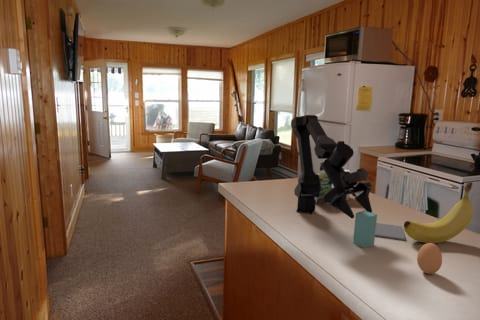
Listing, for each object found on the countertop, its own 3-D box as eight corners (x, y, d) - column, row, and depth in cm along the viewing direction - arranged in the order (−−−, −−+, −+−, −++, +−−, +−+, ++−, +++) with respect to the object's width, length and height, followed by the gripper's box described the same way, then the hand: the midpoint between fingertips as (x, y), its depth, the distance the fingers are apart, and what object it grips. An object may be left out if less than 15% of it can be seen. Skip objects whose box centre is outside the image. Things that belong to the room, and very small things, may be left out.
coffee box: (316, 204, 147) (318, 174, 144) (312, 202, 149) (314, 173, 147) (331, 202, 150) (333, 173, 148) (326, 200, 153) (329, 172, 150)
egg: (429, 280, 87) (434, 249, 86) (410, 269, 92) (414, 240, 91) (445, 276, 89) (449, 246, 88) (425, 266, 94) (429, 237, 93)
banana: (407, 246, 107) (415, 184, 103) (397, 238, 113) (404, 180, 109) (472, 244, 110) (482, 184, 106) (459, 236, 116) (468, 179, 112)
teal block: (353, 243, 108) (355, 213, 107) (361, 239, 111) (364, 210, 109) (365, 248, 105) (368, 217, 103) (373, 244, 107) (377, 214, 106)
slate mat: (366, 234, 115) (366, 233, 115) (365, 223, 126) (366, 221, 126) (405, 240, 111) (405, 238, 111) (401, 227, 122) (401, 226, 122)
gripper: (333, 162, 103) (361, 207, 96) (369, 157, 114) (397, 197, 107) (312, 182, 111) (337, 225, 104) (348, 176, 122) (372, 214, 115)
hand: (362, 215), depth 107 cm, fingers open, 9 cm apart
